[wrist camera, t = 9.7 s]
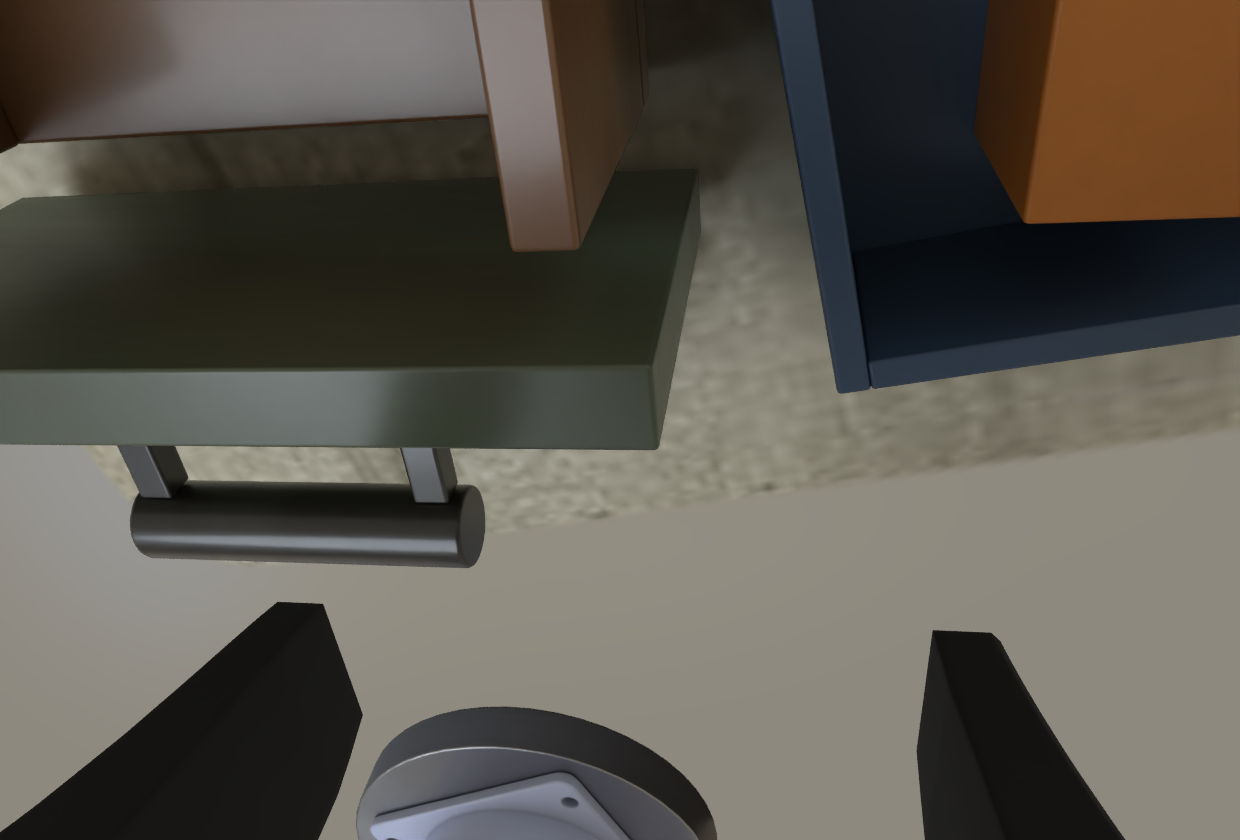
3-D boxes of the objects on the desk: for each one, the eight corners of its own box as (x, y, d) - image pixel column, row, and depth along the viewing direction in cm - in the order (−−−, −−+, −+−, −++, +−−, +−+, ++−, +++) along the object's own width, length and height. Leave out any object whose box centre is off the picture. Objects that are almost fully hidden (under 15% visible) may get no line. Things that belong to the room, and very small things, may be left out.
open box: (1580, -495, 11) (1982, -640, 7) (1451, 156, 15) (1667, 275, 11) (745, -221, 14) (729, -226, 10) (826, 270, 18) (837, 396, 14)
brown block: (1154, 125, 15) (1258, 219, 12) (972, 135, 15) (1022, 226, 12) (1225, -201, 13) (1380, -198, 9) (1007, -179, 13) (1081, -169, 10)
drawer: (710, 421, 19) (679, 683, 13) (124, 419, 21) (-110, 642, 16) (647, -876, 10) (468, -1747, 4) (-361, -632, 12) (-1328, -990, 7)
